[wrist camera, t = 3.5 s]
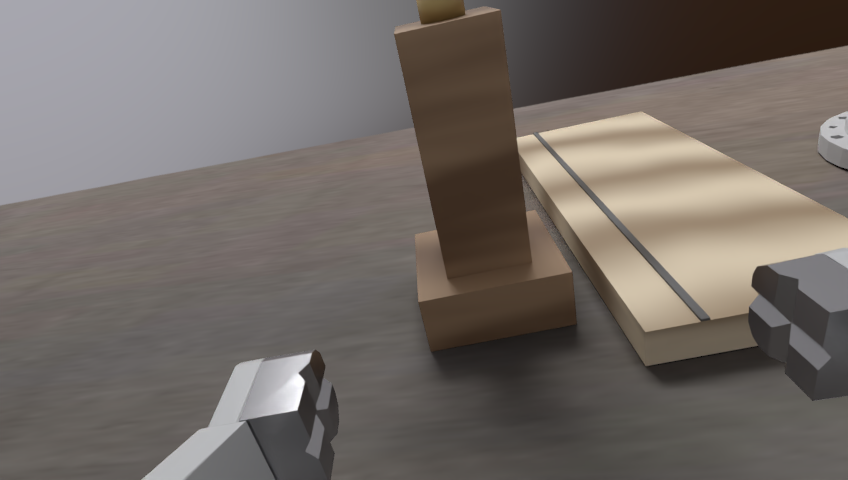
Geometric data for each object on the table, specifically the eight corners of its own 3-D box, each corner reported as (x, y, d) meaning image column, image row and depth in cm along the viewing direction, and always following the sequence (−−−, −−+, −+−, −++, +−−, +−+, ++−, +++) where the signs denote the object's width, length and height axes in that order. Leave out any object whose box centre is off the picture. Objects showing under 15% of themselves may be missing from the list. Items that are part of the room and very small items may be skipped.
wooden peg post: (576, 324, 20) (547, -28, 15) (431, 351, 21) (346, 18, 15) (540, 254, 26) (508, -24, 20) (424, 276, 26) (360, 10, 20)
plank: (943, 311, 17) (956, 271, 16) (645, 366, 18) (645, 329, 17) (641, 130, 38) (641, 110, 38) (511, 158, 39) (509, 138, 38)
